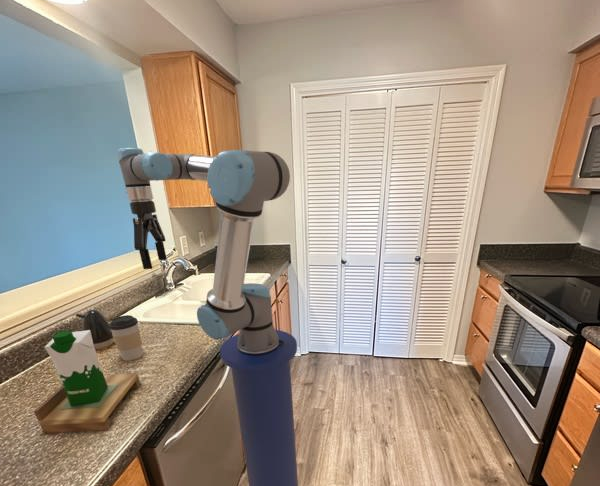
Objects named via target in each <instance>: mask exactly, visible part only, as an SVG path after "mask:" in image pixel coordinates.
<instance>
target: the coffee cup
mask: <svg viewBox="0 0 600 486" xmlns="http://www.w3.org/2000/svg"><path fill="white" fill-rule="evenodd" d="M109 323H110V324H109V328H110V329H111V332H112V335H113V338H114V343H115V345H116V348H117V350H118V351H119V353H120V356H121V359H122V360H123V361H134V360H137V359H139V358H141V357H142V356H143V355H144V351H143V345H142V344H143V343H142V337H141V331H140V327H139V321H138V318H137V317H134V316H133V315H130V314H129V315H128V314H126V315H120V316H116V317H114V318H113V319H111V322H109Z"/></svg>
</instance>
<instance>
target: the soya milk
mask: <svg viewBox="0 0 600 486" xmlns="http://www.w3.org/2000/svg"><path fill="white" fill-rule="evenodd" d="M44 349H45V350H46V352H47V354H48V356H49V357H50V358H51V360H52V363H53V365H54V367H55V371H56V373H57V375H58V378H59V380H60V383H61V386H62V385H63V388H64V391H65V393H66V396H67V398H68V401H69V403H70V406H76V405H82V404H89V403H95V402H99V401H100V400H101V398H102V396H103V394H104V393H105V391H106V389H107V387H108V386H107V383H106V380H105V377H104V375H105V374H104V371H103V369H102V366H101V363H100V360H99V357H98V354H97V351H96V349H95V348H94V345H93V340H92V336H91V331H90V330H86V331H82V330H79V331H72V330H62V331H61V330H60V331H58V332H56V333H54V334H52V339H51V340H50V341H49V342H48V343H47V344H46V345H44Z"/></svg>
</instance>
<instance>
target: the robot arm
mask: <svg viewBox="0 0 600 486" xmlns="http://www.w3.org/2000/svg"><path fill="white" fill-rule="evenodd" d="M117 156H118V163H119V166H120V170H121V174H122V177H123V181H124V185H125V189H126V191H125V193H126V194H127V198H128V200H129V201H130V202H129V207H130V211H131V214H132V215H136V216H137V217H133V218H132V223H133V238H134V239H133V245H134V250H135V251H139V252H138V253H139V256H140V260H141V264H142V268H143V270H152V269H153V263H152V260H151V256H150V255H151V254H150V251H149V249H148V248H147V246H148V237H149V233H150V234H151V236H152V237H153V239H154V240H155V242H154V244H155V249H156V254H157V258H158V261H167V255H166V249H165V245H164V242H166V236H165V235H164V231H163V228H162V227H161V224H160V222H159V219H158V215H157V214H156V212H157V210H156V209H157V208H156V205H155V201H154V200H153V199H154V194H153V190H152V186H151V181H156V182H158V181H176V180H190V181H199V182H206V183H207V187H208V189H210V190H209V194H210V196H211V199H213V200H214V201H215V207H216V209H217V210H218V211H219V212H220V220H219V227H218V228H219V229H218V236H217V237H218V238H217V248H216V255H215V256H216V258H215V266H214V267H215V268H214V275H213V284H212V288H211V289H210V290H209V291H208V292H207V294H206V301H205V304H202V305H200V306H199V307H198V308H197V310H196V318H197V321H198V324H199V326H200V328H201V330H202V331H203V332H204V333H205V334H206V335H207V336H208V337H209V338H211V339H212V340H222V339H224V338H228V337H229V336H231V335H233V334H235V333H237V332H238V331H239V332H238V334H239V337H238V341H237V346H238V350H239V351H240V352H241V353H243V354H246V355H264V354H268V353H270V352H272V351H274V350H276V349H277V348H278V347H279V342H280V343H282V344H283V343H284V341H282V340H280V339H279V337H278V335H277V333H276V330H277V329H275V326H274V323H273V321H274V320H273V308H272V296H271V291H270V288H269V286H268V285H265V284H262V283H252V282H251V283H249V282H248V283H245V278H246V273H247V266H248V261H249V255H250V248H251V242H252V237H253V232H254V226H255V220H256V219H258V218H260V217H261V216H262V213H263V210H264V209H263V208H264V203H265V202H269V201H274V200H277V199H279V198H281V196H283V195H284V194H285V193H286V191H287V190H288V188H289V185H290V181H291V174H290V168H289V166H288V164H287V163H286V160H284V159H283V158H282V157H281V156H280V155H279V154H277V153H274V152H271V151H258V150H246V149H245V150H244V149H239V148H238V149H233V150H223V151H221V152H219V153H218V154H217V155H216V156H215V155H203V154H196V153H195V154H194V153H188V154H186V153H163V152H160V151H149V152H146V153H144V151H143V149H141V148H139V147H125V148H124V147H123V148H119V149H118V150H117Z"/></svg>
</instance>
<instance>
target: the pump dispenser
mask: <svg viewBox="0 0 600 486" xmlns="http://www.w3.org/2000/svg"><path fill="white" fill-rule="evenodd" d="M75 317H77V318H81V319H82V324H81V325H82V326H81V331H86V330H90V331H91V336H92V340H93V345H94V348H95V350H104V349H106V348H108V347H110V346H111V345H112V344H113V343H114V342H115V340H114V338H113V335H112V332H111V329H110V328H109V324H110V323H111V322H110V321H108V319H107V318H106V316H105V315H104V314H102V312H100V311H99V310H97V309H89V310H87V311H86V312H85V313H84V314H82V313H76V314H75Z"/></svg>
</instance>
